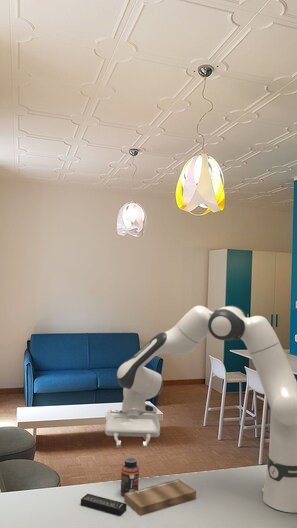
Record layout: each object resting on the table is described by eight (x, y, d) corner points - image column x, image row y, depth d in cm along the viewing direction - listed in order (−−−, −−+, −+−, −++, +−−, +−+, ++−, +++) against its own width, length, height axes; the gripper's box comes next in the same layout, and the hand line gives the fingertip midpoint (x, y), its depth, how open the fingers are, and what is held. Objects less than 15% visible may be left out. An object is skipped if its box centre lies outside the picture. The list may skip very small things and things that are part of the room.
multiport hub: (87, 500, 148) (87, 493, 148) (126, 511, 142) (127, 503, 142) (80, 506, 144) (80, 499, 144) (120, 517, 138) (120, 510, 138)
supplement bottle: (135, 499, 149) (137, 464, 149) (118, 496, 150) (119, 462, 151) (139, 490, 155) (141, 457, 155) (123, 488, 156) (124, 455, 156)
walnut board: (178, 486, 159) (178, 478, 159) (196, 498, 151) (196, 490, 151) (124, 501, 147) (124, 493, 148) (140, 515, 139) (140, 507, 139)
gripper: (105, 405, 168) (102, 442, 158) (160, 407, 168) (160, 444, 158) (106, 414, 173) (102, 449, 163) (159, 416, 173) (159, 451, 163)
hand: (131, 447), depth 161 cm, fingers open, 8 cm apart
